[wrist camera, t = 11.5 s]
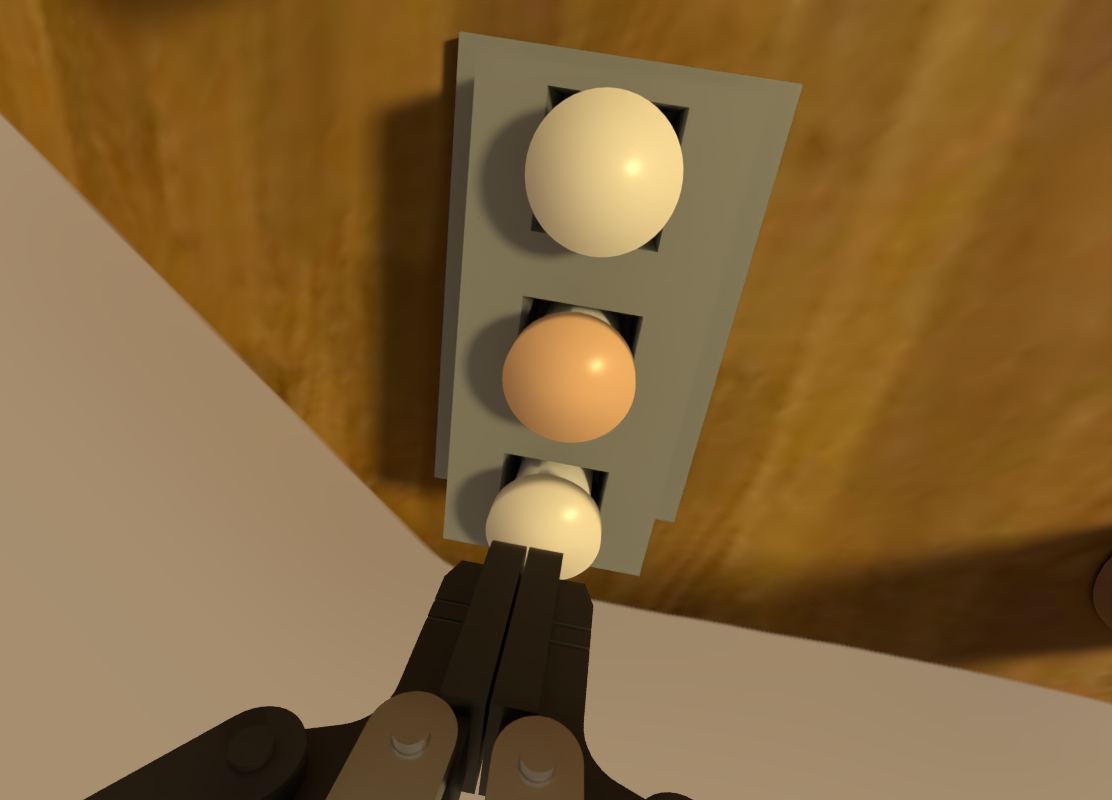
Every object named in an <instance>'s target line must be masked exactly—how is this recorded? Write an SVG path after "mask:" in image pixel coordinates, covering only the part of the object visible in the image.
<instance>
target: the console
mask: <svg viewBox="0 0 1112 800" xmlns="http://www.w3.org/2000/svg"><path fill="white" fill-rule="evenodd" d="M802 86H803V84H799V83H792V82H786V81H779V80H773V79H766V78H760V77H753V76H747V75H740V74H733V73H727V72H720V71H714V70H707V69H701V68H694V67H688V66H681V65H675V64H668V63H662V62H655V61H649V60H642V59H636V58H629V57H623V56H616V55H610V54H603V53H597V52H590V51H584V50H577V49H571V48H564V47H558V46H551V45H545V44H538V43H532V42H525V41H519V40H512V39H506V38H499V37H493V36H486V35H480V34H473V33H467V32H460V31H459V44H458V62H457V80H456V98H455V115H454V133H453V151H452V169H451V187H450V205H449V223H448V241H447V258H446V276H445V294H444V312H443V330H442V348H441V366H440V383H439V401H438V419H437V437H436V455H435V473H434V477H436V478H441V479H447V491H446V505H445V520H444V535H443V538H445V539H450V540H456V541H461V542H466V543H471V544H476V545H481V546H487V547H489V545H488V542H487V538H486V522H487V518H488V516H489V513H490V510H491V507H492V505H493V502H494V500H495V498H496V496H497V494H498V493H499V492H500V491H501V490H502V489H503V488H504V487H505V486H506V485H507V484H509V483H510V482H512V481H514V480H515V479H516V476H517V473H518V470H519V467H520V464H521V461H522V458H523V456H524V457H529V458H534V459H540V460H545V461H550V462H556V463H561V464H567V465H572V466H577V467H583V468H588V469H593V479H592V488H591V497H592V498H593V500H594V501H595V503H596V505H597V507H598V509H599V511H600V514H601V520H602V530H601V543H600V549H599V552H598V554H597V556H596V558H595V560H594V561H593V563H592V564H591V565H590V567H595V568H601V569H606V570H611V571H616V572H621V573H626V574H632V575H637V576H639V575H640V571H641V568H642V564H643V560H644V557H645V553H646V550H647V546H648V542H649V539H650V535H651V531H652V528H653V524H654V521H655V519H659V520H664V521H669V522H674V520H675V517H676V513H677V510H678V507H679V503H680V500H681V496H682V493H683V490H684V486H685V483H686V480H687V476H688V473H689V469H690V466H691V463H692V459H693V456H694V452H695V449H696V446H697V442H698V439H699V435H700V432H701V429H702V425H703V422H704V418H705V415H706V412H707V408H708V405H709V401H710V398H711V395H712V391H713V388H714V385H715V381H716V378H717V374H718V371H719V368H720V364H721V361H722V357H723V354H724V351H725V347H726V344H727V340H728V337H729V334H730V330H731V327H732V323H733V320H734V317H735V313H736V310H737V307H738V303H739V300H740V296H741V293H742V290H743V286H744V283H745V279H746V276H747V273H748V269H749V266H750V262H751V259H752V256H753V252H754V249H755V245H756V242H757V239H758V235H759V232H760V228H761V225H762V222H763V218H764V215H765V212H766V208H767V205H768V201H769V198H770V195H771V191H772V188H773V184H774V181H775V178H776V174H777V171H778V167H779V164H780V161H781V157H782V154H783V150H784V147H785V144H786V140H787V137H788V134H789V130H790V127H791V123H792V120H793V117H794V113H795V110H796V106H797V103H798V100H799V96H800V93H801V89H802ZM604 87H609V88H619V89H623V90H628V91H631V92H633V93H636V94H638V95H640V96H642V97H643V98H645V99H647V100H648V101H650V102H651V103H652V104H653V105H655V106H656V107H657V108H658V109H659V110H660V111H661V112H662V113H663V114H664V115H665V117H666V118H667V120H668V121H669V122H670V124H671V125H672V127H673V129H674V131H675V133H676V135H677V138H678V141H679V144H680V147H681V152H682V157H683V182H682V188H681V192H680V196H679V199H678V202H677V204H676V207H675V209H674V211H673V213H672V215H671V217H670V218H669V220H668V221H667V223H666V224H665V225H664V227H663V228H662V229H661V230H660V231H659V232H658V233H657V234H656V235H655V236H654V237H653V238H652V239H651V240H649V241H648V242H647V243H646V244H644V245H642V246H641V247H639V248H637V249H635V250H633V251H631V252H628V253H625V254H622V255H618V256H612V257H591V256H586V255H582V254H579V253H576V252H573V251H571V250H569V249H567V248H565V247H564V246H562V245H560V244H559V243H558V242H556V241H555V240H554V239H553V238H552V237H551V236H550V235H548V234H547V232H546V231H545V230H544V229H543V228H542V226H541V225H540V223H539V222H538V220H537V219H536V217H535V215H534V213H533V211H532V209H531V206H530V203H529V200H528V197H527V191H526V186H525V164H526V158H527V153H528V150H529V146H530V143H531V141H532V138H533V136H534V134H535V132H536V130H537V129H538V127H539V125H540V124H541V122H542V121H543V120H544V118H545V117H546V116H547V115H548V114H549V113H550V112H551V111H552V110H553V109H554V108H555V107H556V106H557V105H558V104H560V103H561V102H562V101H564V100H565V99H567V98H569V97H571V96H572V95H574V94H577V93H579V92H582V91H585V90H589V89H594V88H604ZM551 301H556V302H562V303H567V304H573V305H579V306H585V307H590V308H596V309H602V310H608V311H614V312H619V313H621V336H622V337H623V338H624V340H625V341H626V343H627V344H628V346H629V348H630V351H631V353H632V356H633V359H634V364H635V379H636V386H635V395H634V399H633V402H632V405H631V407H630V409H629V411H628V413H627V414H626V416H625V417H624V419H623V420H622V421H621V422H620V423H619V424H618V425H617V426H616V427H615V428H614V429H612V430H611V431H610V432H608V433H607V434H605V435H603V436H601V437H599V438H596V439H593V440H589V441H585V442H577V443H565V442H558V441H554V440H550V439H547V438H545V437H542V436H540V435H538V434H536V433H534V432H533V431H531V430H530V429H528V428H527V427H526V426H525V425H524V424H522V423H521V422H520V421H519V419H518V418H517V417H516V416H515V415H514V413H513V412H512V410H511V409H510V407H509V405H508V403H507V400H506V398H505V394H504V390H503V383H502V374H503V367H504V363H505V360H506V357H507V355H508V353H509V351H510V349H511V348H512V346H513V344H514V342H515V340H516V339H517V337H518V336H519V335H520V333H521V332H522V331H523V330H524V329H525V328H526V327H527V326H529V325H530V324H531V323H533V322H534V321H536V320H538V319H539V318H542V317H544V315H545V313H546V311H547V309H548V307H549V304H550V302H551Z"/></svg>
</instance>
